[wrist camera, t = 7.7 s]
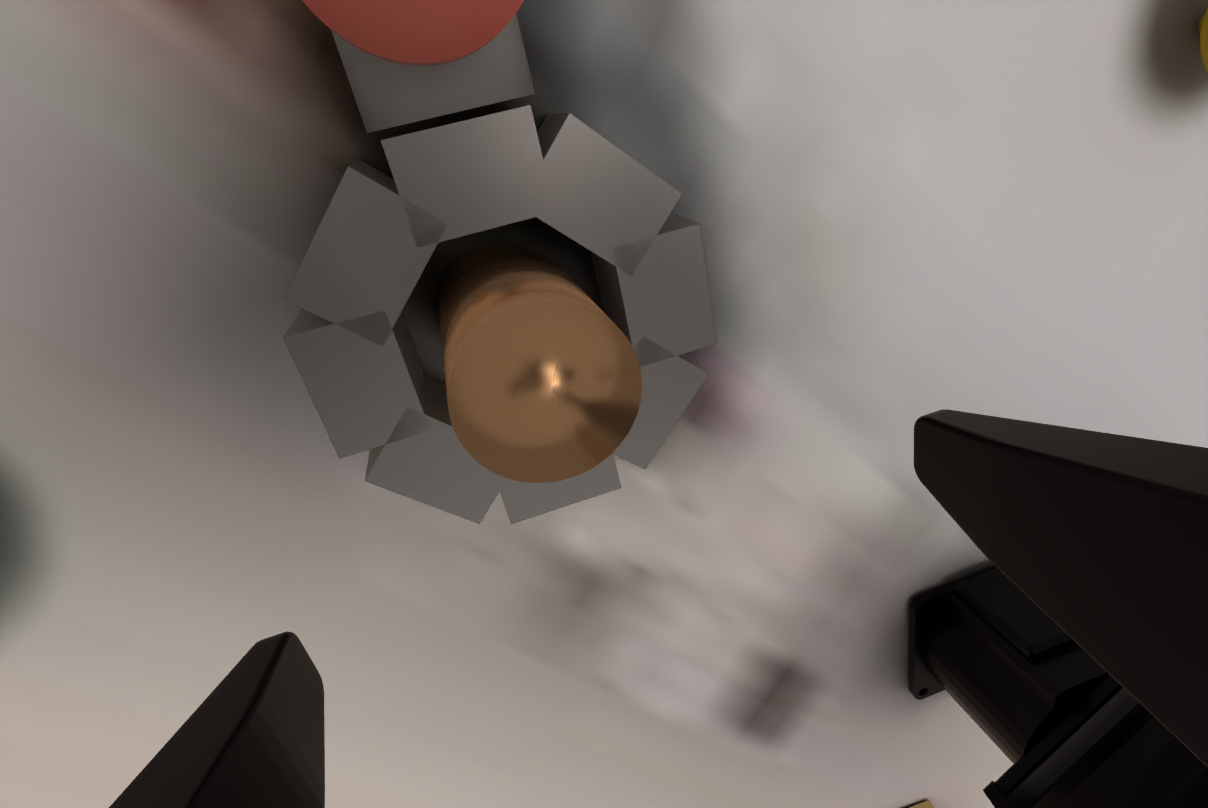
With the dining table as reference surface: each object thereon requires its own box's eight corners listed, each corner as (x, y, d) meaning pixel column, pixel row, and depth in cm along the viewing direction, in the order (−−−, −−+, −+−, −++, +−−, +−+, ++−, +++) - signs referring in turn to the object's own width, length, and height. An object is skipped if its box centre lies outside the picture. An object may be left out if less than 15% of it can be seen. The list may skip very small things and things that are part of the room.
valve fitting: (694, 412, 22) (783, 506, 17) (392, 508, 21) (382, 646, 15) (591, -215, 15) (691, -413, 9) (111, -136, 13) (-106, -316, 8)
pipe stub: (584, 350, 20) (656, 450, 14) (462, 387, 20) (481, 507, 14) (555, 225, 19) (622, 276, 12) (419, 262, 18) (419, 333, 12)
